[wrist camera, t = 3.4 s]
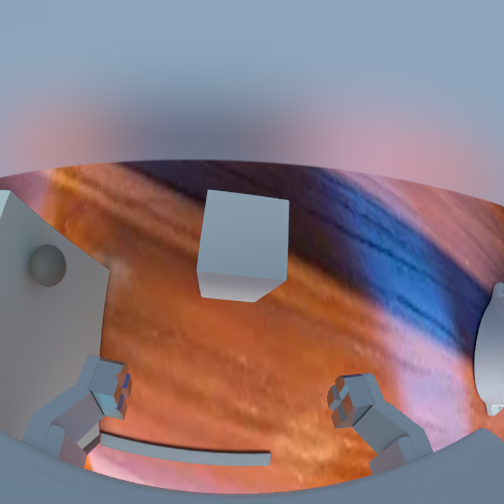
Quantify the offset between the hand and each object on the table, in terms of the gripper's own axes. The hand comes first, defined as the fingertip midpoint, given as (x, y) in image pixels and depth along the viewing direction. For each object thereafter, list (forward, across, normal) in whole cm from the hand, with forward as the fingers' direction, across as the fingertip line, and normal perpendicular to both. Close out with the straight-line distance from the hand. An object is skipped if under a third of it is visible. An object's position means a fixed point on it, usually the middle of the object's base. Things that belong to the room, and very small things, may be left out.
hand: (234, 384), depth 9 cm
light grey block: (+12, 0, +3) cm, 12 cm away
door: (+6, +10, +8) cm, 14 cm away
